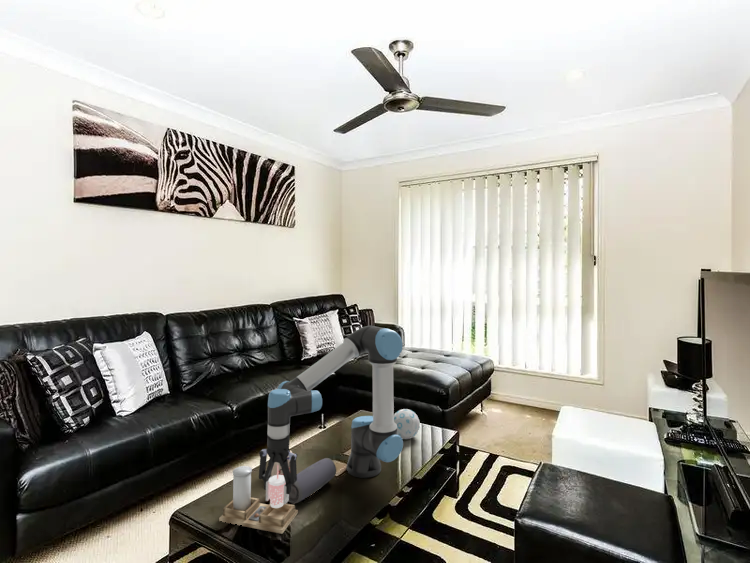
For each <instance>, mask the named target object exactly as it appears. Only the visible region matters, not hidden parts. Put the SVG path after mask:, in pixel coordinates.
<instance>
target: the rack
mask: <svg viewBox="0 0 750 563" xmlns="http://www.w3.org/2000/svg"><path fill="white" fill-rule="evenodd" d="M298 513H299V510H298V509H296V504H292V503H291V504H290V503H286V504H284V505H283V506H282V507H280V508H272V507H271V505H270V503H269V504H266V503H261V499H260V498H256V497H251V506H250V507H249V508H248V509H247V510H246V511H241V510H235V509H233V499H232V500H231V501H230V502H229V503H228V504H226V505H225V506H224V507H223V508H222V514H221V516H220V517H219V518H218V519H219V522H220V521H222V522H221V523H225V522H226V523H225V524H230V523H231V524H232V525H235V524H237V525H236V526H240V525H242V526H241V527H247V528H250V529H251V528H252V529H257V530H261V531H266V532H267V531H268V532H271V533H276V534H281V535H282V534H283V533H284V532H285V531H286V530H287V528H288V527H289V526H290V524H291V523H292V522H293V520H294V519H295V518H296V516H297V515H298Z"/></svg>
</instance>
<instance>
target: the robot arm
mask: <svg viewBox="0 0 750 563" xmlns="http://www.w3.org/2000/svg"><path fill="white" fill-rule="evenodd" d="M402 351H403V341H402V337H401V336H400V334H399V333H398V332H396V331H395V330H392V329H390V328H388V327H387V328H385V327H379V326H376V325H375V326H374V325H367V326H363V327H360V328H358V329H357V330H354V331H353V332H351V333H350V334H348V335H347V336H346V337H345V338H343V342H342V343H340V344H339V345H337V347H335V348H334V349H333V350H331V351H330V352H329V353H327V354H326V355H324V356H323V357H321V359H319V360H318V361H317V362H315V363H313V364H312V365H311V366H309V367H308V368H307V369H306V370H304V371H303V372H302V373H300V374H299V375H297V376H296V377H295V378H293V379H291V381H289V380H284V381H282V382H281V383H280V384H279V385H278V387H277V388H276V389H273V390H271V391H270V392H269V394H268V397H267V431H266V432H267V442H266V445H267V447H266V448H262V449H261V450H260V451H259V452H258V454H259V468H258V479H259V480H263V490H264V491H265V502H268V501H270V484H269V478H270V477H272V476H271V472H272V469H273V466H274V463H275V462H278V463H280V466H281V467H282V471H283V475H284V479H285V485H284V496H283V504H288V501H289V493H290V492H291V484H294V483H295V482H296V481H297V474H298V472H297V458H298V453H297V452H295V453H294V454H293V452H292V453H291V452H290V451H291V450H290V438H291V437H290V431H291V430H290V428H291V427H290V425H291V417H294V416H295V417H296V416H301V415H304V414H305V415H306V414H311V413H314V412H317V411H320V410H321V409H322V407H323V398H322V394H321V393H320V391H319V390H313V389H314V388H316V387H317V386H318V385H319V384H321V383H322V382H323V381H324V380H326V379H327V378H328V377H331V375H332V374H334V373H335V372H336V371H338V370H339V369H340V368H341V367H343V366H344V365H345V364H347V363H348V362H349V361H350V360H352V359H353V358H359V356H361V355H363V354H367V353H368V362H369V364H371V366H372V368H371V369H372V415H361V416H357V417H355V418H354V419H352V421H351V427H350V430H351V434H350V435H351V436H350V438H351V441H350V442H351V443H350V454H349V457H348V459H347V462H346V471H348V472H347V473H348V474H349V475H350V476H352V477H356V478H359V479H360V478H361V479H363V478H364V479H369V478H372V477H373V478H374V477H376V476H377V475H379V474H380V473H381V471H382V463H381V461H382V462H385V463H391V462H393V461H395V460H396V459H397V458H398V457H399V456H400V454H401V453H402V451H403V447H404V441H403V440H404V439H402V438H401V437H400V436H399V435H398V434H397V424H396V423H395V422H394V414H395V413H394V412H395V411H394V410H395V409H394V408H395V406H394V402H395V401H394V365H396V363H397V362H398V358H399V357H400V355H401V353H402ZM288 456H289V460H290V470H289V467H288V460H287V457H288ZM267 457H269V460H268V462H267V459H268V458H267ZM267 463H268V464H267Z"/></svg>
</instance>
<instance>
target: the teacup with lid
mask: <svg viewBox="0 0 750 563" xmlns="http://www.w3.org/2000/svg"><path fill="white" fill-rule="evenodd" d="M290 452H291V453H293V451H292V450H290ZM293 454H295V453H293ZM287 460H288V467H289V470H290V460H289V456H288V457H287ZM277 465H279V472H278V475H283V471H282V467H281V466H280V463H278V462H275V463H274V466H273V469H272V472H271V475H270V476H271V477H272V476H274V475H277Z"/></svg>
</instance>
